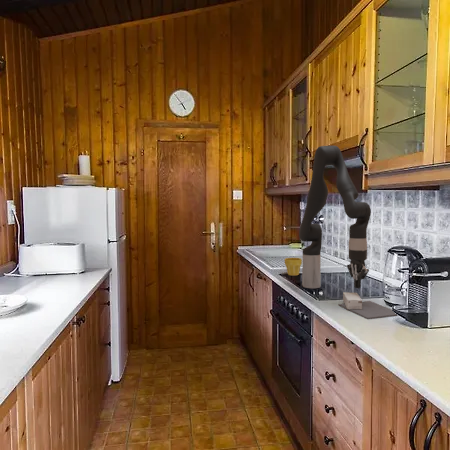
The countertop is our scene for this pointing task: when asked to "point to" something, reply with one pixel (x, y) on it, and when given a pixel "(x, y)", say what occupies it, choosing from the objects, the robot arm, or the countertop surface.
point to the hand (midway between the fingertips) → (357, 287)
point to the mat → (371, 310)
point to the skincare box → (352, 300)
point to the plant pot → (293, 265)
